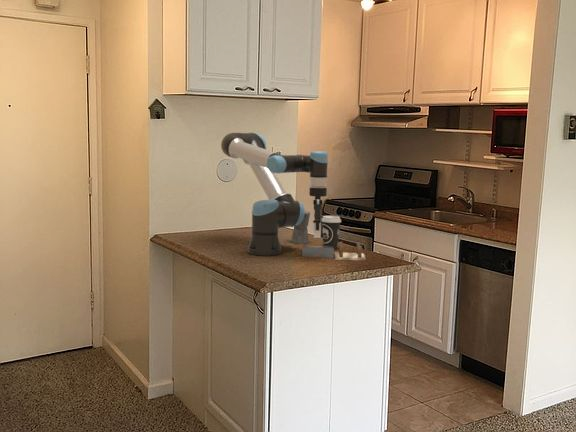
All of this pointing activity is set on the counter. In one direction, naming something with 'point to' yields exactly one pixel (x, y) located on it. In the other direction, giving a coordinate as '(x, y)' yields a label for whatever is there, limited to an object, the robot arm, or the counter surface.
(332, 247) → the grey metal bar
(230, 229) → the counter surface
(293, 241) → the coffeepot
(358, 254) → the rack
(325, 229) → the coffee cup
